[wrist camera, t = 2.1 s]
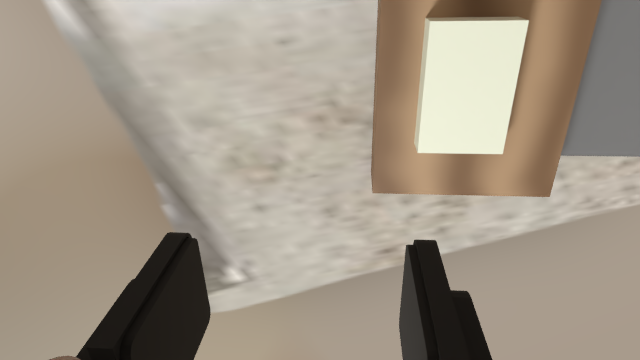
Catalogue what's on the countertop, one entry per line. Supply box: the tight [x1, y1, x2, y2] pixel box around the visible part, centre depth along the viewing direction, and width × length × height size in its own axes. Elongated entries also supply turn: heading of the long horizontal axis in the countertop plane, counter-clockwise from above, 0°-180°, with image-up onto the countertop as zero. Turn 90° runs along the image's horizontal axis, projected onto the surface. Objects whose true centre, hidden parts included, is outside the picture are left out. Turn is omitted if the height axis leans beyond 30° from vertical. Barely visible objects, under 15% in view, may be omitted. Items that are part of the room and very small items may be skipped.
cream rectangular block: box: [414, 17, 529, 154], centre depth 29 cm, size 6×9×2 cm, turn 1°
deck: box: [371, 0, 602, 197], centre depth 31 cm, size 14×22×4 cm, turn 1°
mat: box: [561, 0, 640, 157], centre depth 32 cm, size 9×16×1 cm, turn 1°
